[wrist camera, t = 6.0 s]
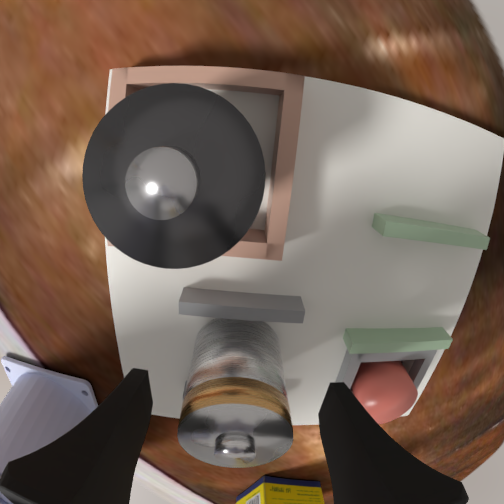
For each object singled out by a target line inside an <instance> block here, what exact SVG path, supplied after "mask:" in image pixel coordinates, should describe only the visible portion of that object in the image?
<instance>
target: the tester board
mask: <svg viewBox="0 0 504 504" xmlns="http://www.w3.org/2000/svg"><path fill="white" fill-rule="evenodd" d="M168 83H181V84H189V85H194V86H199V87H202V88H204V89H207V90H210V91H212V92H214V93H216V94H218V95H219V96H221V97H223V98H224V99H226V100H227V101H228V102H230V103H231V104H232V105H234V106H235V107H236V108H237V109H238V110H239V111H240V112H241V113H242V114H243V116H244V117H245V118H246V120H247V121H248V122H249V124H250V125H251V127H252V129H253V130H254V132H255V134H256V136H257V138H258V141H259V143H260V146H261V149H262V153H263V157H264V163H265V174H266V175H265V189H264V195H263V200H262V203H261V206H260V209H259V212H258V214H257V216H256V218H255V220H254V222H253V224H252V225H251V227H250V228H249V230H248V232H247V233H246V234H245V235H244V236H243V238H242V239H241V240H240V241H239V242H238V243H237V244H236V245H235V246H234V247H233V248H231V249H230V250H229V251H227V252H226V253H225V254H223V255H222V256H220V257H218V258H216V259H214V260H212V261H210V262H208V263H205V264H202V265H199V266H195V267H190V268H182V269H165V268H159V267H153V266H150V265H147V264H143V263H141V262H139V261H136V260H134V259H132V258H130V257H129V256H127V255H125V254H124V253H122V252H121V251H120V250H118V249H117V248H116V247H115V246H113V245H112V244H111V243H110V242H109V241H108V240H107V239H106V237H105V247H106V259H107V270H108V280H109V289H110V298H111V305H112V312H113V319H114V326H115V332H116V338H117V344H118V350H119V355H120V360H121V365H122V370H123V375H124V378H125V376H126V375H127V374H128V373H129V372H130V370H131V369H133V368H137V369H144V370H148V374H149V381H150V387H151V393H152V399H153V407H152V412H151V414H152V415H158V416H165V417H172V418H179V419H180V414H181V409H182V403H183V400H184V395H185V390H186V385H187V380H188V375H189V370H190V365H191V360H192V355H193V350H194V345H195V340H196V337H197V334H198V332H199V331H200V329H201V328H202V327H203V326H204V325H205V324H206V323H208V322H209V321H211V320H212V319H215V318H224V319H236V320H250V321H264V322H265V323H267V324H268V325H269V326H270V327H271V328H272V329H273V330H274V331H275V333H276V335H277V337H278V340H279V345H280V351H281V358H282V364H283V371H284V377H285V384H286V391H287V397H288V403H289V407H290V414H291V421H292V425H316V424H319V417H318V413H319V410H320V408H321V405H322V403H323V400H324V397H325V395H326V392H327V389H328V386H329V384H330V383H331V382H344V383H345V384H346V385H347V387H348V388H349V389H350V390H351V392H352V393H353V391H352V388H351V386H352V383H353V381H354V379H355V376H356V374H357V371H358V369H359V366H360V363H361V362H383V361H401V362H402V364H403V366H404V367H405V369H406V371H407V373H408V374H409V376H410V378H411V380H412V381H413V383H414V385H415V387H416V389H417V391H418V396H417V399H416V401H415V403H416V402H417V400H418V398H419V397H420V395H421V393H422V391H423V390H424V388H425V386H426V384H427V382H428V381H429V379H430V377H431V375H432V373H433V371H434V369H435V367H436V366H437V364H438V362H439V360H440V358H441V356H442V354H443V352H444V349H449V347H450V344H451V342H452V340H453V339H452V338H451V334H452V332H453V330H454V328H455V325H456V323H457V321H458V318H459V316H460V314H461V311H462V309H463V306H464V304H465V301H466V298H467V296H468V293H469V290H470V288H471V285H472V282H473V279H474V276H475V273H476V270H477V267H478V264H479V261H480V258H481V255H482V251H483V250H487V247H488V244H489V240H490V238H489V237H488V236H487V234H488V230H489V226H490V222H491V218H492V214H493V209H494V205H495V200H496V195H497V190H498V185H499V180H500V174H501V167H502V161H503V153H504V138H502V137H500V136H498V135H496V134H494V133H491V132H489V131H487V130H485V129H483V128H480V127H478V126H476V125H473V124H471V123H469V122H466V121H464V120H461V119H459V118H456V117H454V116H451V115H449V114H446V113H443V112H440V111H438V110H435V109H432V108H429V107H426V106H423V105H420V104H417V103H414V102H411V101H408V100H405V99H401V98H398V97H395V96H391V95H388V94H384V93H380V92H377V91H373V90H369V89H365V88H361V87H356V86H352V85H348V84H343V83H338V82H333V81H328V80H323V79H318V78H312V77H306V76H303V75H296V74H289V73H282V72H274V71H266V70H256V69H245V68H232V67H215V66H147V67H129V68H117V69H110V74H109V82H108V91H107V102H106V114H107V112H108V111H109V110H110V109H111V108H113V107H114V106H115V105H116V104H117V103H118V102H120V101H121V100H123V99H124V98H125V97H127V96H129V95H131V94H132V93H134V92H136V91H138V90H141V89H144V88H147V87H150V86H154V85H159V84H168ZM106 114H105V115H106ZM415 403H414V404H413V406H412V407H411V408H410V409H409V410H408V411H407V412H406V413H404V414H403V415H401V416H407V415H409V413H410V412H411V410H412V408H413V407H414V405H415Z"/></svg>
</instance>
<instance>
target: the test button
mask: <svg viewBox="0 0 504 504" xmlns="http://www.w3.org/2000/svg"><path fill="white" fill-rule="evenodd" d="M351 388H352V391H353V394H354V396H355V397H356V398H357V399H358V401H359V402H360V403H361V404H362V406H363V407H364V408H365V409H366V411H367V412H368V413H369V414H370V415H371V417H372V418H373V419H374V420H375V421H376V422H377V423H378V424H383V423H387V422H390V421H392V420H394V419H396V418H398V417H400V416H401V415H403V414H404V413H406V412H407V411H408V410H409V409H410V408H411V407H412V406H413V404H414V403H415V401H416V399H417V396H418V391H417V389H416V387H415V385H414V383H413V381H412V380H411V378H410V376H409V374H408V373H407V371H406V369H405V367H404V366H403V364H402V362H401V361H383V362H361V363H360V366H359V369H358V371H357V374H356V376H355V379H354V381H353V383H352V386H351Z"/></svg>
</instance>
